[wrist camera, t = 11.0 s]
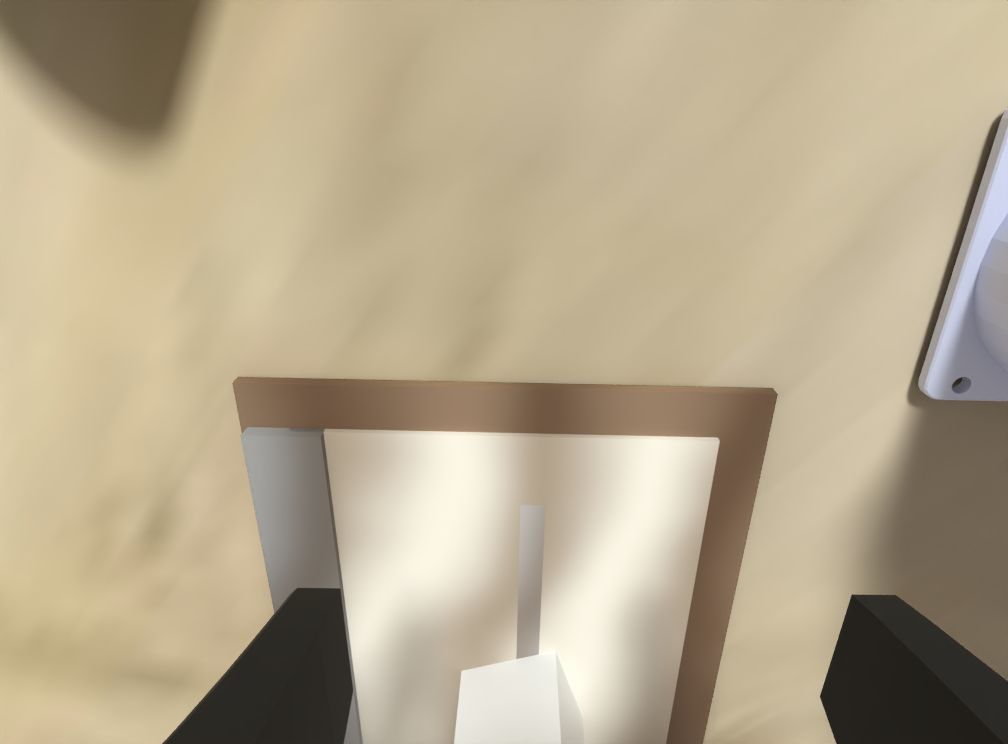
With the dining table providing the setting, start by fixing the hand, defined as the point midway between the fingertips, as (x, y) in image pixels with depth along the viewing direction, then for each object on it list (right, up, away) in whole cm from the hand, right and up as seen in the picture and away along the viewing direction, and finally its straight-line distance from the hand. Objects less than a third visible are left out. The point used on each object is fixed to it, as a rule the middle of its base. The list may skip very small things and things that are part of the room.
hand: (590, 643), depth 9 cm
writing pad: (-1, -5, +14) cm, 14 cm away
